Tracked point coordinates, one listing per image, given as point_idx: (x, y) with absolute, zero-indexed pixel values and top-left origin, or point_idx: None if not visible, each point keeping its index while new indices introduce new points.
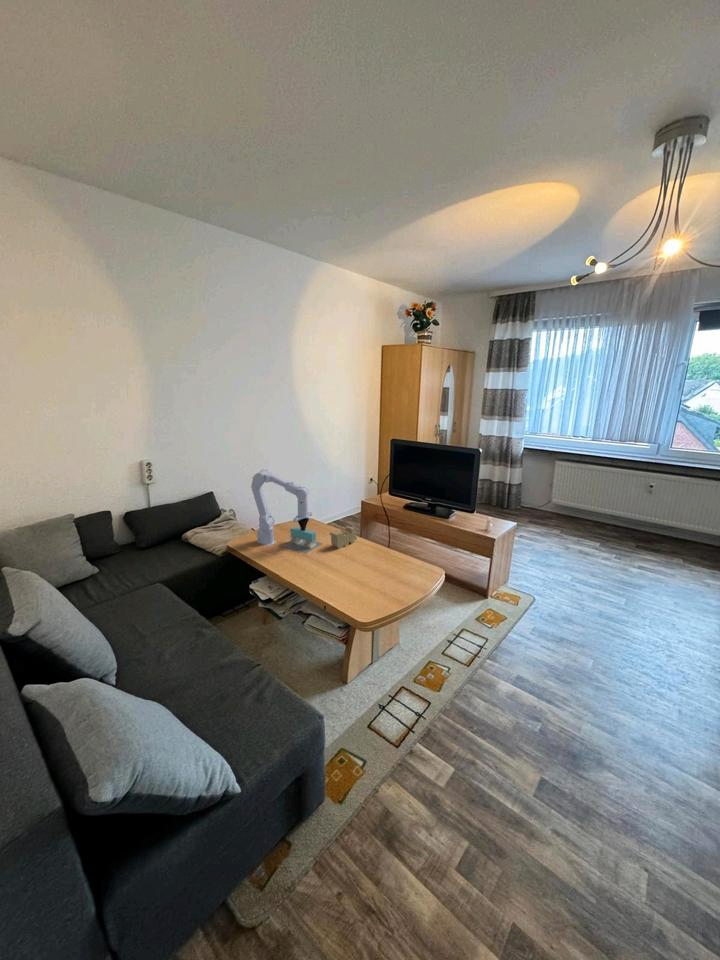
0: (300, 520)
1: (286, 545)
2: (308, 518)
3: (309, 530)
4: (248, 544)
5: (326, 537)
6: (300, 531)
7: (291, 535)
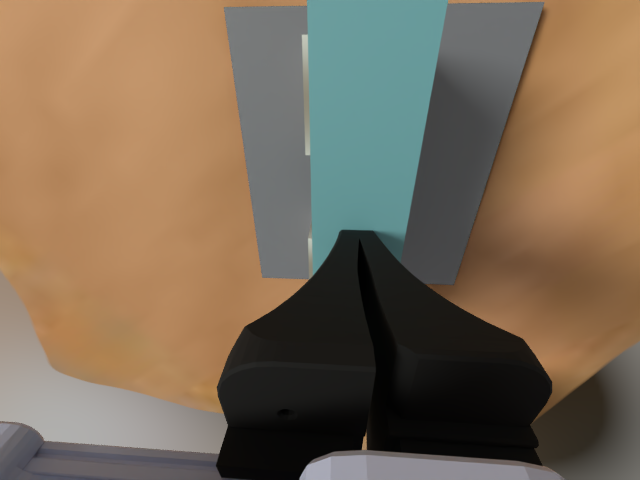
0: (520, 454)
1: (430, 266)
2: (235, 380)
3: (314, 166)
4: None
5: (87, 98)
6: (399, 258)
7: None
